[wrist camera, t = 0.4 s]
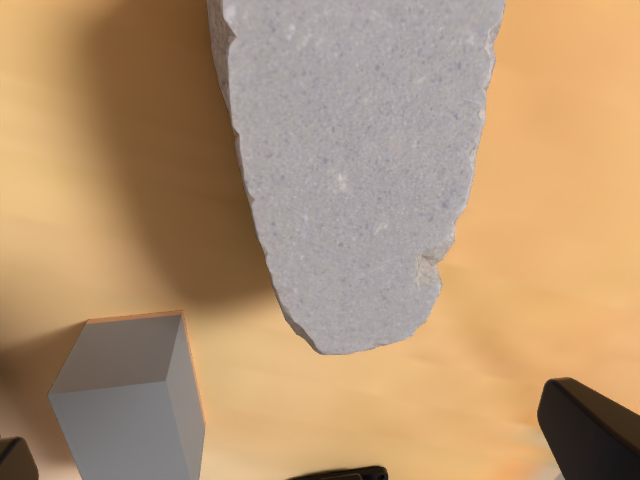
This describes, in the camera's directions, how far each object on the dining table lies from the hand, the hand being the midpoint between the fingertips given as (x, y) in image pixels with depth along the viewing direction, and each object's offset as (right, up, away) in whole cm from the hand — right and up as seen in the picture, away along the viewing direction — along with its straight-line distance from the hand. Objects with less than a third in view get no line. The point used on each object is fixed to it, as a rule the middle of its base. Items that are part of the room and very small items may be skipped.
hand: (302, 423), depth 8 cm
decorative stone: (+1, +9, +11) cm, 14 cm away
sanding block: (-9, -4, +16) cm, 19 cm away
